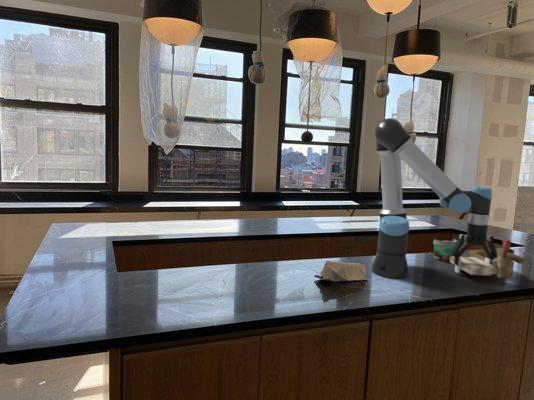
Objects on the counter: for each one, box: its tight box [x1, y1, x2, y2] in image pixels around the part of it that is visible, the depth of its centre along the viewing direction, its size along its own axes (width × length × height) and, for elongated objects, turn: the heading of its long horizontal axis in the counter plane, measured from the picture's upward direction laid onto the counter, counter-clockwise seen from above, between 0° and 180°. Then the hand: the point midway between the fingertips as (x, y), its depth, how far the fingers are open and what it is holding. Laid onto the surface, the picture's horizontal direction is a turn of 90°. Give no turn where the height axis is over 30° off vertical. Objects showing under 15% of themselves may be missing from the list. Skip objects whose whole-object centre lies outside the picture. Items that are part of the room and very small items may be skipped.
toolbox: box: [468, 247, 515, 279], centre depth 175 cm, size 11×20×12 cm, turn 2°
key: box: [501, 239, 527, 265], centre depth 162 cm, size 2×12×7 cm, turn 2°
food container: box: [432, 238, 458, 263], centre depth 186 cm, size 12×6×10 cm, turn 105°
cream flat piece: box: [449, 256, 498, 276], centre depth 167 cm, size 12×15×4 cm
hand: (471, 272), depth 167 cm, fingers closed on cream flat piece, 12 cm apart
